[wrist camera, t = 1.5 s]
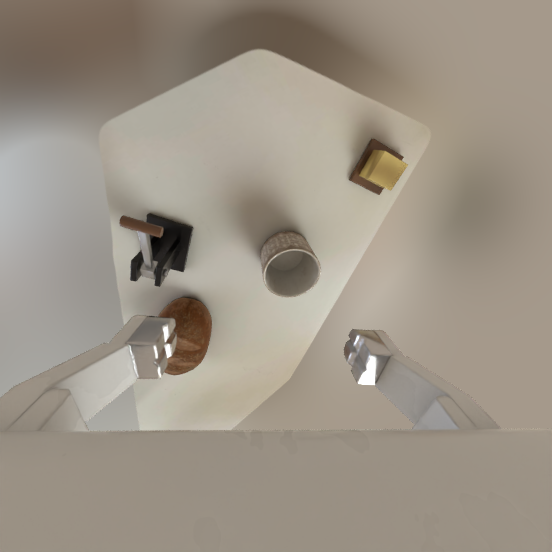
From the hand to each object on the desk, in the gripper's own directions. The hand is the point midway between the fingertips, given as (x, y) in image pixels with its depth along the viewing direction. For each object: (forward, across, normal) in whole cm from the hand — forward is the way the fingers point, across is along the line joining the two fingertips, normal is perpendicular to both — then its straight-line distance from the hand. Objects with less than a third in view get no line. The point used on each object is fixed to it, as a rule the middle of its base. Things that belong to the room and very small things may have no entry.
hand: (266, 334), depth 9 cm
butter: (+40, -23, -11) cm, 48 cm away
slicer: (+40, +21, +10) cm, 46 cm away
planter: (+42, -7, +10) cm, 44 cm away
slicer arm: (+27, +18, +7) cm, 33 cm away
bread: (+44, +20, +40) cm, 62 cm away
